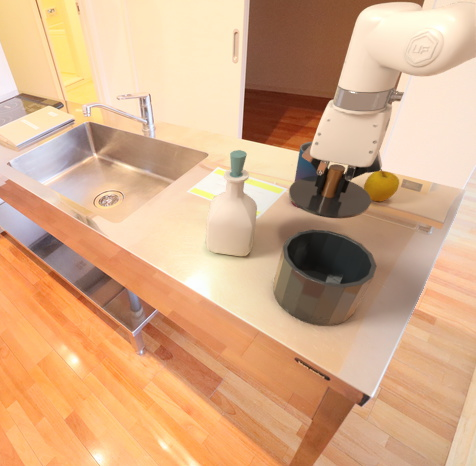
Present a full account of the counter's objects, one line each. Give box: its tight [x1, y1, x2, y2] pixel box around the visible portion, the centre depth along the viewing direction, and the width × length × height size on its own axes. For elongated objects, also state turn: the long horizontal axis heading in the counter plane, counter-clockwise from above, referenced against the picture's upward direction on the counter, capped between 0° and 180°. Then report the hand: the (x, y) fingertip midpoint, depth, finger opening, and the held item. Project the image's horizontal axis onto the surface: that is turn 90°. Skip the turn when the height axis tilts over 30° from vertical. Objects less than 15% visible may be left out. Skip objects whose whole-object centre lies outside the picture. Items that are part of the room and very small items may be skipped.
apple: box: [363, 168, 400, 202], centre depth 76 cm, size 6×6×8 cm
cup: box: [290, 141, 331, 209], centre depth 76 cm, size 7×7×15 cm
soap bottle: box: [205, 149, 258, 257], centre depth 66 cm, size 10×10×23 cm
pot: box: [272, 229, 377, 327], centre depth 57 cm, size 13×13×10 cm
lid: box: [288, 163, 372, 219], centre depth 62 cm, size 14×14×7 cm
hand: (329, 191), depth 63 cm, fingers closed on lid, 2 cm apart
